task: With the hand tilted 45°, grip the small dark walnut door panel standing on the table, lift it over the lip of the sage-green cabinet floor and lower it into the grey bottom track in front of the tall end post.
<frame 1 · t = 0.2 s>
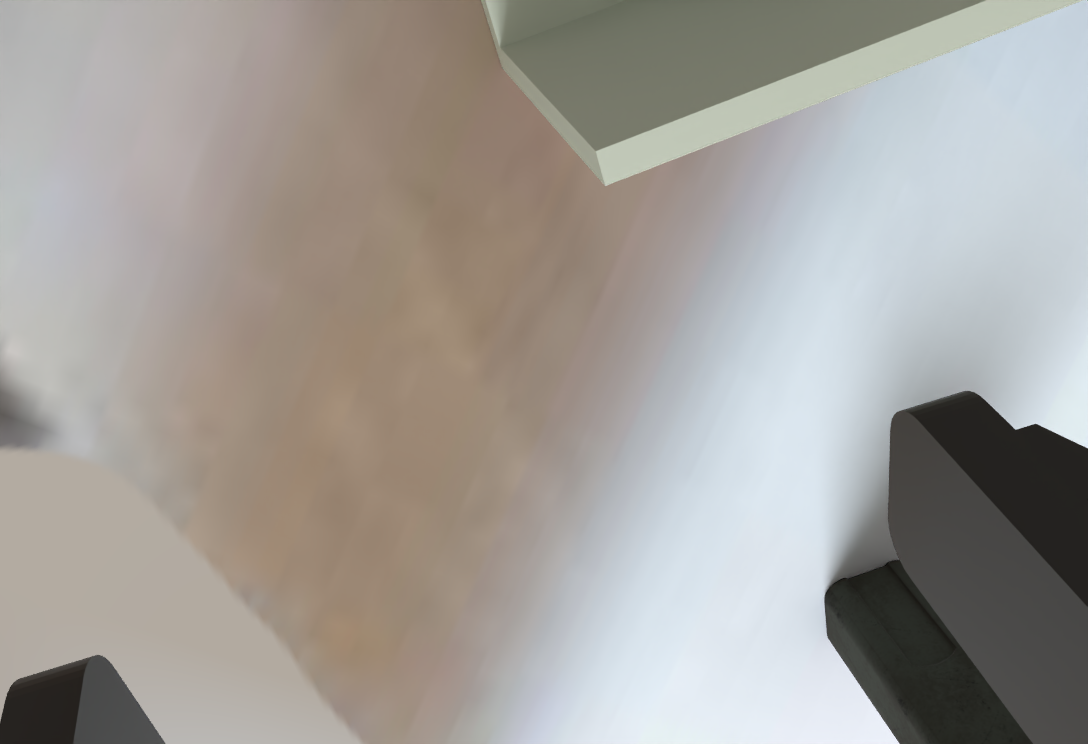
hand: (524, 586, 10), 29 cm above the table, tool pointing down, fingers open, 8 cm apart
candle: (865, 599, 57), on the table
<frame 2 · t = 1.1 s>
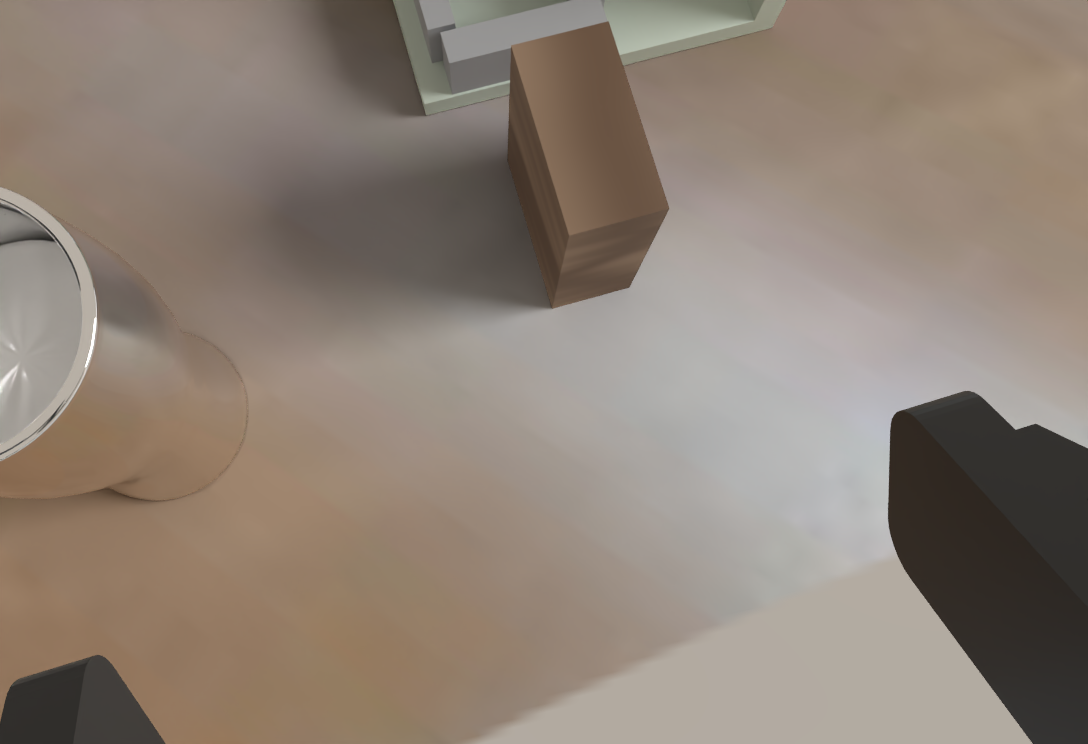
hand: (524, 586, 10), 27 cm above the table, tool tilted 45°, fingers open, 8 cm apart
beer glass: (164, 416, 37), on the table
door panel: (567, 223, 39), on the table
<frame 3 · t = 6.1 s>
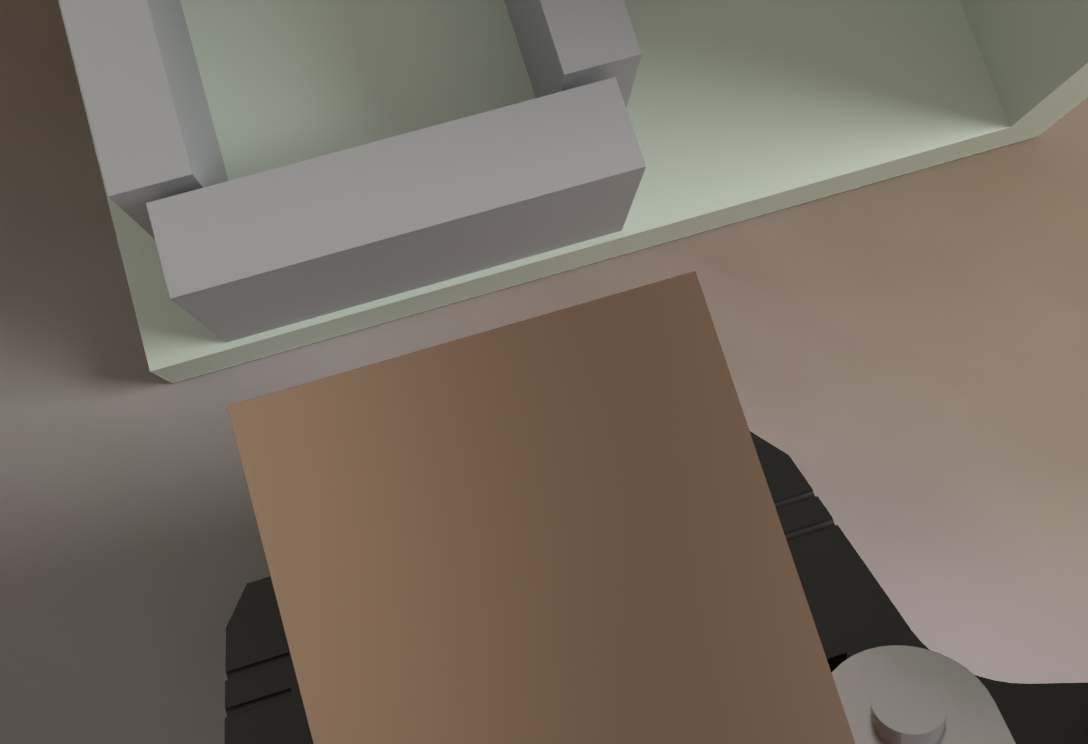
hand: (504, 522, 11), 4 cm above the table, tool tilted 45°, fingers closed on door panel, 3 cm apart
door panel: (545, 666, 15), on the table, touching gripper
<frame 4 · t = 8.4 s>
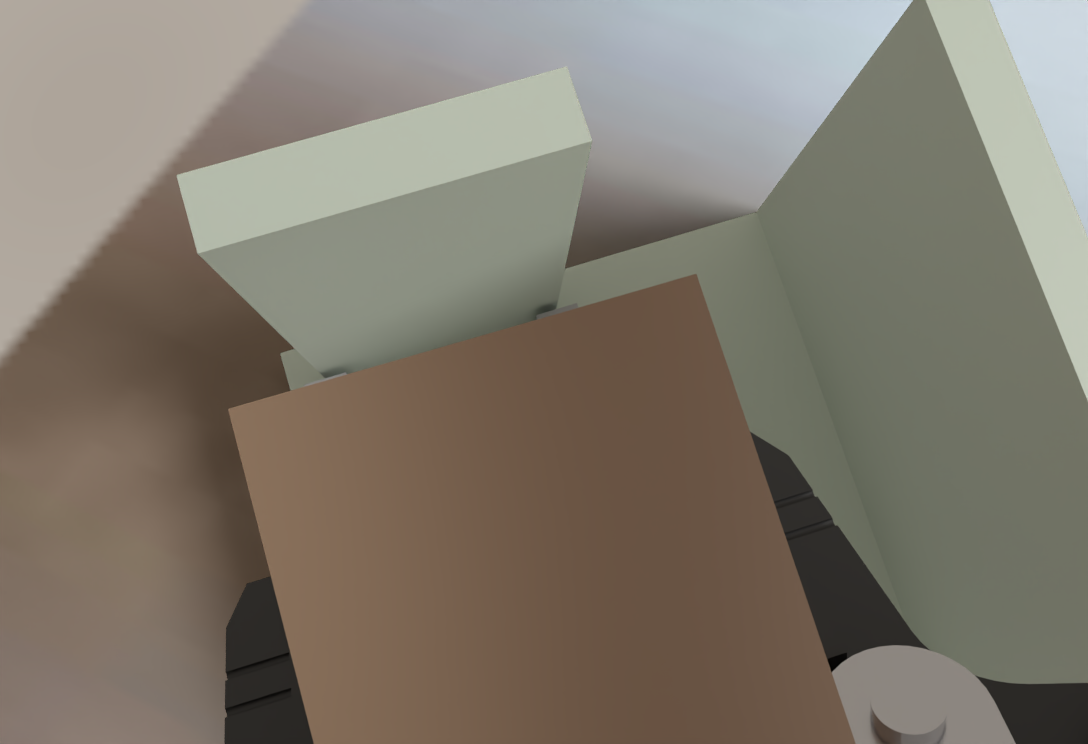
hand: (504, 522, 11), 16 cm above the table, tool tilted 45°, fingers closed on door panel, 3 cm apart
cabinet track: (627, 553, 27), on the table
door panel: (546, 667, 15), point 12 cm above the table, touching gripper
when the fingers open (6 cm above the table, at t = 11.2 s): door panel stays where it is, resting on cabinet track.
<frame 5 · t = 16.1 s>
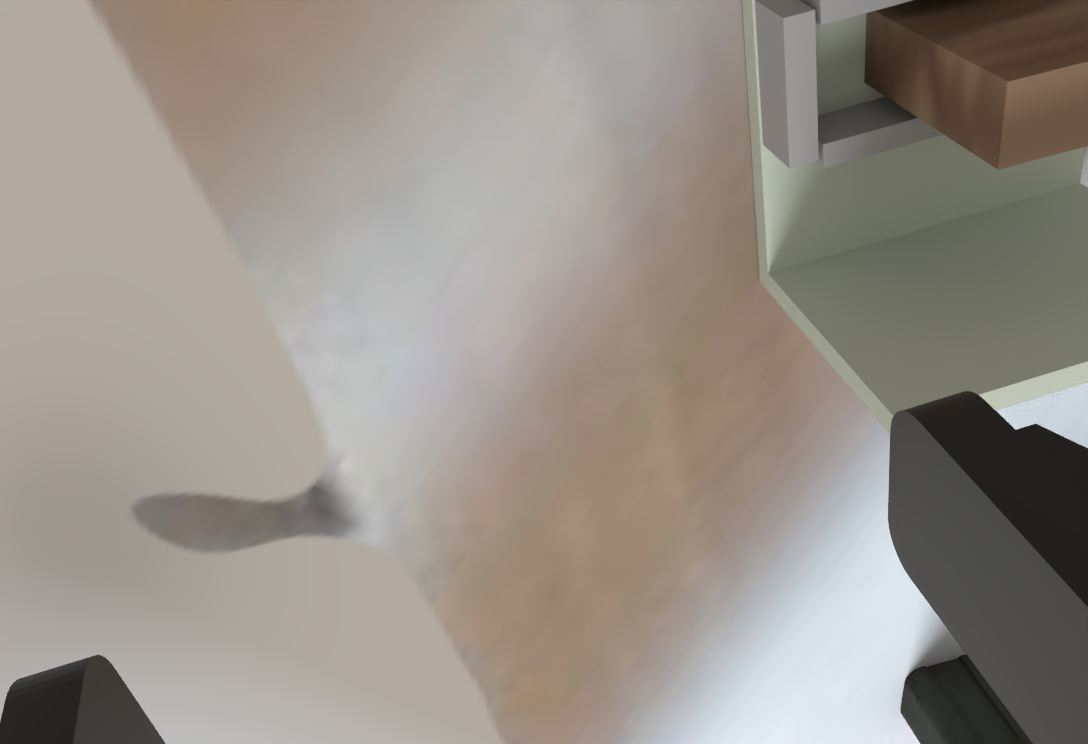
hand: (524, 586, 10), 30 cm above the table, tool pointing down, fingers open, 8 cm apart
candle: (936, 683, 68), on the table
cabinet track: (919, 91, 43), on the table
door panel: (936, 28, 41), point 1 cm above the table, touching cabinet track
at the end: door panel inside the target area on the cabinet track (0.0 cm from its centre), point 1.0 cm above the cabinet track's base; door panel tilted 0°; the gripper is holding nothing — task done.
